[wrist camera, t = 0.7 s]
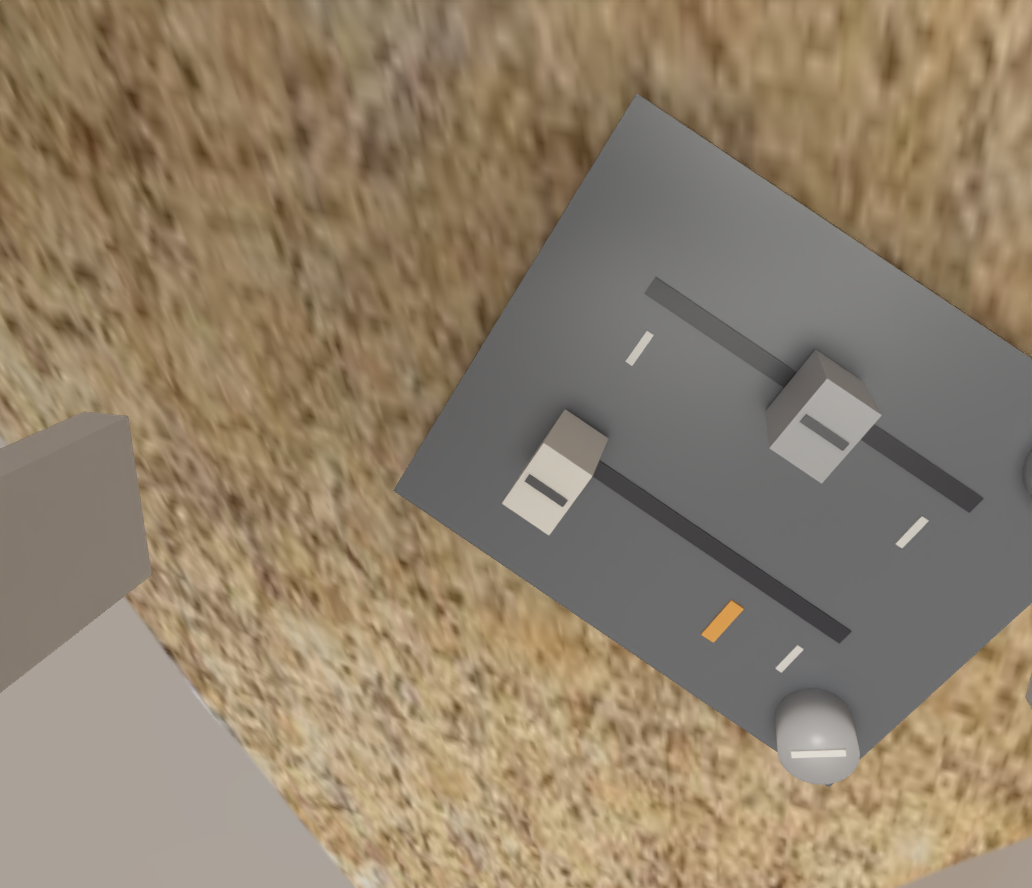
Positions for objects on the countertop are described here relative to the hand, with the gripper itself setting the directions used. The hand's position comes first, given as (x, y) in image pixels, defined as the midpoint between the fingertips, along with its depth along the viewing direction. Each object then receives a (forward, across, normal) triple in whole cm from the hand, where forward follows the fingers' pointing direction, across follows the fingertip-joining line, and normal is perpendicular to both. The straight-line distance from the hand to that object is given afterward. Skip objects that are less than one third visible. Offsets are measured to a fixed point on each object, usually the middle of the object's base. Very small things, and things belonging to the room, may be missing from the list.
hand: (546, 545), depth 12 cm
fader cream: (+20, -3, -6) cm, 21 cm away
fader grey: (+20, +6, -3) cm, 21 cm away
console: (+23, +4, -7) cm, 24 cm away
